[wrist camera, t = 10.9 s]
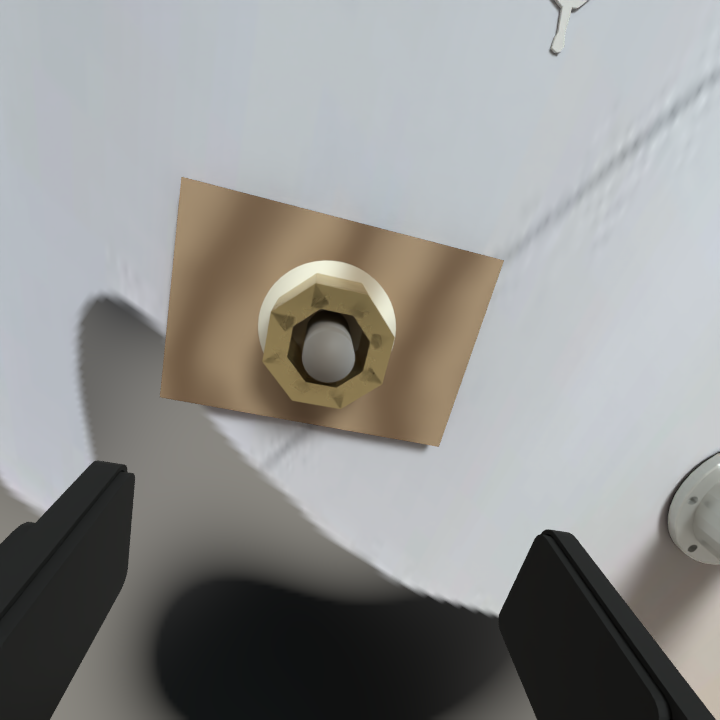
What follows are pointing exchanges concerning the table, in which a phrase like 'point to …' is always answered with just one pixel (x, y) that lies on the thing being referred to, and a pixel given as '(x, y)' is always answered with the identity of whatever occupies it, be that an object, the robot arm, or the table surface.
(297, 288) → the ring
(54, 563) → the robot arm
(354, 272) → the post plate
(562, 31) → the scissors
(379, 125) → the table surface
